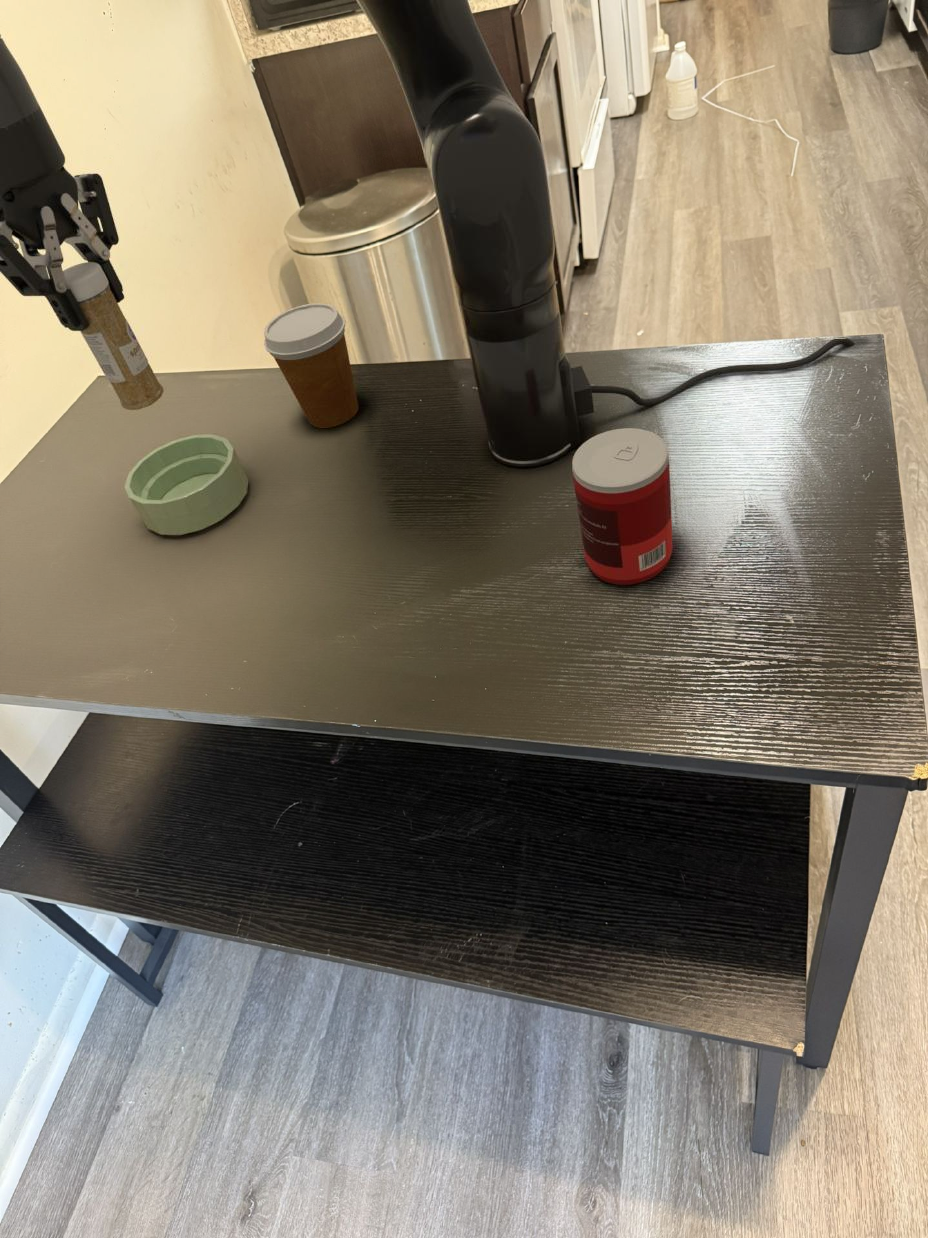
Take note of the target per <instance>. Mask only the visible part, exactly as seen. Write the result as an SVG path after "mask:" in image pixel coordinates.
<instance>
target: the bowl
mask: <svg viewBox="0 0 928 1238" xmlns="http://www.w3.org/2000/svg"><path fill="white" fill-rule="evenodd" d="M241 463H242V462H241V461H240V459H239V457H238V455H237V452H236V450H235V448H234V446H233V445H232V444H231V443H230V441H229V440H228V439H227V438H225V437H222V436H219V435H217V434H194V435H190V436H185V437H182V438H178V439H174V440H172V441H170V442H167V443H165V444H164V445H162V446H159V447H157V448H155V449H154V450H152V451H151V452H149V453H148V454H147V455H145V456H144V457H142V458H141V459H140V460H139V461H138V462H137V463H136V464H135V465H134V466H133V467H132V469H131V470H130V471H129V473H128V474H127V475H126V479H125V483H124V491H125V492H126V494H127V496H128V498H129V500H130V503H132V505H133V506H134V509H135V510H136V511H137V513H138V516H140V519H141V520H142V521H143V523H144V525H145V526H146V528H147V529H148V530H151V531H152V532H154V533H155V534H159V535H161V536H182V535H187V534H190V533H195V532H199V531H202V530H204V529H207V528H209V527H211V526H213V525H215V524H217V523H219V522H220V521H222V520H223V519H225V518H226V517H227V516H229V514H231V513H232V512H233V511H234V510H236V509H237V508H238V507H239V506H240V505H241V503H242V502H243V500H244V498H245V496H246V495H247V494H248V487H249V477H248V475H247V474H246V470H245V469H244V468H243V465H242V464H241Z"/></svg>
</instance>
